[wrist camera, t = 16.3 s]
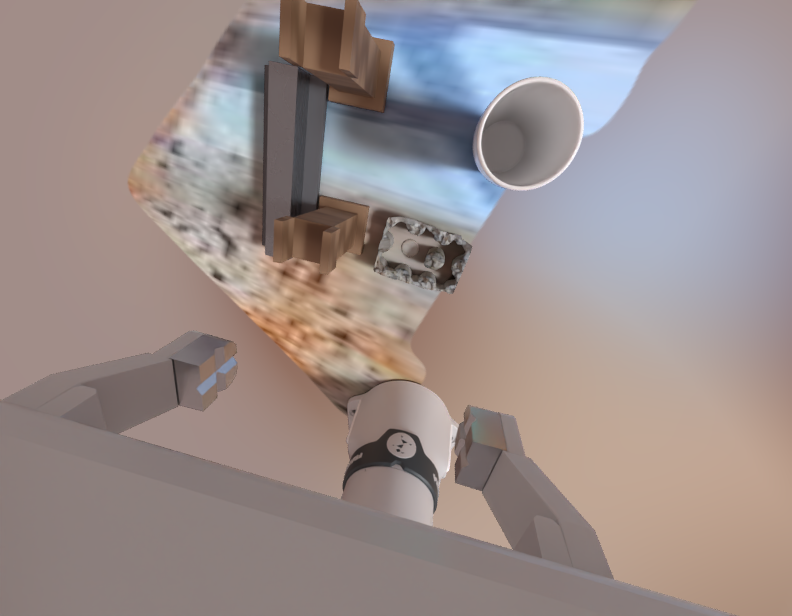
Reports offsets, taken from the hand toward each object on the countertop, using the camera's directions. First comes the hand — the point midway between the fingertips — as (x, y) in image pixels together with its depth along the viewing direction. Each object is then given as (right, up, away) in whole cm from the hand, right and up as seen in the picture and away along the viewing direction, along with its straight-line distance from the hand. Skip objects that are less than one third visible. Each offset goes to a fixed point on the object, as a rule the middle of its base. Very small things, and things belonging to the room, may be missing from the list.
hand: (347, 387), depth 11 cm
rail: (-11, +19, +27) cm, 35 cm away
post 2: (-5, +13, +29) cm, 33 cm away
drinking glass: (+13, +20, +23) cm, 33 cm away
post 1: (-2, +27, +23) cm, 36 cm away
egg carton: (+5, +10, +30) cm, 32 cm away
